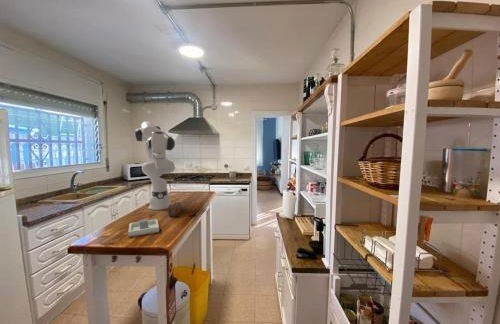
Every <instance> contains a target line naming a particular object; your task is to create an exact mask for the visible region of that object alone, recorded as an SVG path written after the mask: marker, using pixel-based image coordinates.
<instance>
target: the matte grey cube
mask: <svg viewBox="0 0 500 324" xmlns="http://www.w3.org/2000/svg"><path fill="white" fill-rule="evenodd" d="M148 220H149V219H148V218H145V219H144V218H143V219H139V222H140V229H146V228H148Z"/></svg>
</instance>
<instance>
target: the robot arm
mask: <svg viewBox="0 0 500 324" xmlns="http://www.w3.org/2000/svg"><path fill="white" fill-rule="evenodd" d="M133 137H134V138H135V140H136V141H137V142H144V147H145V152H146V155H147V159H148V160H149V161H147V162H144V163H143V164H142V165H141V171H142V173H143V174H144V175H146V176H147V177H148V178H149V180H151V181H150V182H151V186H152V187H151V188H152V191H151V198H150V199H149V205H148V207H147V209H148V210H153V211H154V210H155V211H156V210H157V211H159V210H165V209H168V207H169V205H171V204H172V203H171V197H170V195H169V194H168V187H167V186H168V185H167V183H168V182H167V180H166V179H164V178H163V177H162V176H163V175H164V174H165V175H166V174H171V173H174V170H175V168H176V166H175V163H174V161H172V160H170V159H168V158H167V157H166V155H167V154H166V151H172V150H173V149H174V148H175V146H176V144H175V139H174V138H173V137H172V136H169V135H168V134H167V133H166V132H165V131H164V130H162V129H161V127H160V126H158V125H156V126H155V124H154V123H153V122H151V121H148V120H147V121H143V122H142V123H141V124H140V127H139V128H137V129H135V130H134V133H133Z"/></svg>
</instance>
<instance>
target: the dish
mask: <svg viewBox="0 0 500 324" xmlns="http://www.w3.org/2000/svg"><path fill="white" fill-rule="evenodd" d="M127 232H128V235H127V236H128V238H133V237H137V236H144V235H150V234H155V233H160V224H159V221H158V218H156V219H148V228H146V229H140V221H136V222H130V223H129V225H128V231H127Z"/></svg>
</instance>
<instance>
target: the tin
mask: <svg viewBox="0 0 500 324" xmlns="http://www.w3.org/2000/svg"><path fill="white" fill-rule="evenodd" d="M170 204H171V205H169V207H168V208H167V215H168V216H169V217H174V216H176V215H178V214H180V212H181V210H182V205H181V203H180V202H179V201H174V202H173V203H170Z"/></svg>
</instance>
